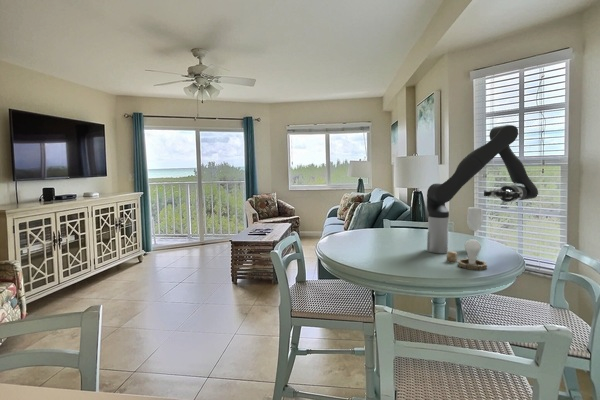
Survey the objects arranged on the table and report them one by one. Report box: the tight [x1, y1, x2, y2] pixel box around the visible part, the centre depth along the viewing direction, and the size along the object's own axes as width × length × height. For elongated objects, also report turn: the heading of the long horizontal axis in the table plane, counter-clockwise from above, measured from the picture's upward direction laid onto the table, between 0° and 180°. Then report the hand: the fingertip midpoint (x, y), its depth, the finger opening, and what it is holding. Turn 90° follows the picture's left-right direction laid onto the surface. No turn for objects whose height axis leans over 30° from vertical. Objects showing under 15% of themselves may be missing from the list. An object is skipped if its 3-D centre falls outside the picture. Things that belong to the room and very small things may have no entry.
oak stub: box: [446, 250, 458, 264], centre depth 151 cm, size 4×4×4 cm
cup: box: [466, 206, 484, 232], centre depth 173 cm, size 7×7×21 cm
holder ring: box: [457, 258, 488, 271], centre depth 144 cm, size 10×10×2 cm
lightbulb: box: [464, 238, 482, 265], centre depth 143 cm, size 6×6×11 cm
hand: (495, 194), depth 152 cm, fingers open, 8 cm apart
